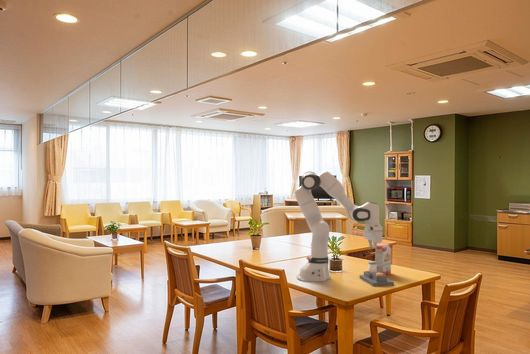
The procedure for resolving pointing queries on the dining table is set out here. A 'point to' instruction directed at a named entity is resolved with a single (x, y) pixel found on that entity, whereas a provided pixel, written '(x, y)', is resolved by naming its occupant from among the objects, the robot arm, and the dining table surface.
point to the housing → (376, 279)
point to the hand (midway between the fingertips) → (372, 247)
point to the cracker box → (383, 258)
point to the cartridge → (372, 267)
